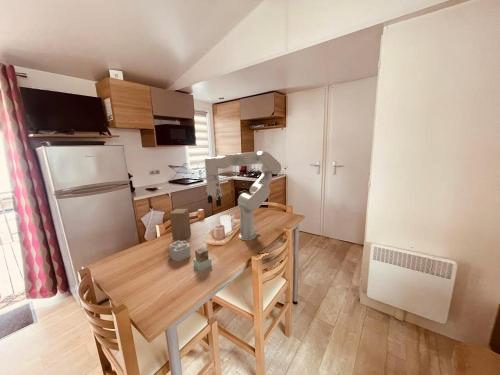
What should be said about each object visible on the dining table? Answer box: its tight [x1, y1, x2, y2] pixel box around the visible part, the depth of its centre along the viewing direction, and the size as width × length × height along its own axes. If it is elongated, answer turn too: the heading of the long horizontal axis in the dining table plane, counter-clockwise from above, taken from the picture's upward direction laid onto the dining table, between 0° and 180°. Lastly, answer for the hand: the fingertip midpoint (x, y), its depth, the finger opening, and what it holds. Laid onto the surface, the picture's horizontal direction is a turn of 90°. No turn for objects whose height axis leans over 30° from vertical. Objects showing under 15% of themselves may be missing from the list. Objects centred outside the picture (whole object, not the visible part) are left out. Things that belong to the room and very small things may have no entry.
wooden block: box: [169, 208, 192, 241], centre depth 146 cm, size 10×10×20 cm
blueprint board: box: [191, 263, 215, 273], centre depth 113 cm, size 16×14×1 cm
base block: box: [192, 256, 213, 271], centre depth 111 cm, size 7×7×4 cm
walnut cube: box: [194, 246, 209, 262], centre depth 110 cm, size 5×5×5 cm
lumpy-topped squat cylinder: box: [168, 240, 192, 262], centre depth 122 cm, size 10×13×9 cm
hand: (214, 204), depth 128 cm, fingers open, 9 cm apart
